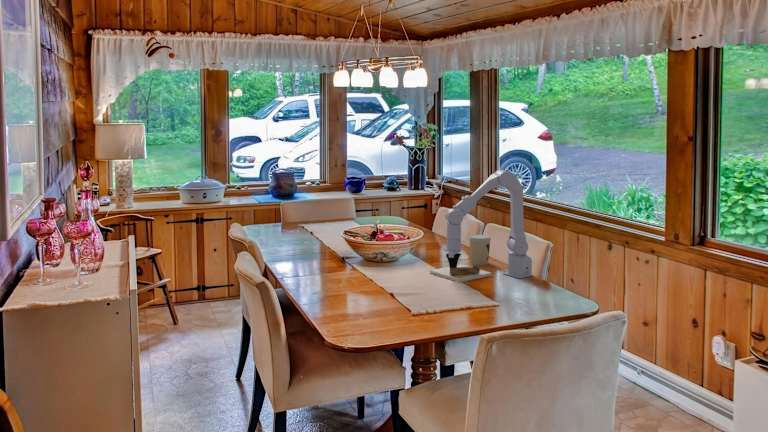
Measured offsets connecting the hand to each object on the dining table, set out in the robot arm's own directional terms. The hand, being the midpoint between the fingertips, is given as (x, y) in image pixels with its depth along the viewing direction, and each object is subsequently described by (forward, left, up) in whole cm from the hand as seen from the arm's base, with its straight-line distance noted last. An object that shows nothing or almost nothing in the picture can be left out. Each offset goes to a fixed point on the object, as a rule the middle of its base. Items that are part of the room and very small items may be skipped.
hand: (453, 271), depth 278 cm
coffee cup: (+11, -25, -2) cm, 28 cm away
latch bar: (-4, -3, -1) cm, 5 cm away
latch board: (+1, -5, -2) cm, 5 cm away
